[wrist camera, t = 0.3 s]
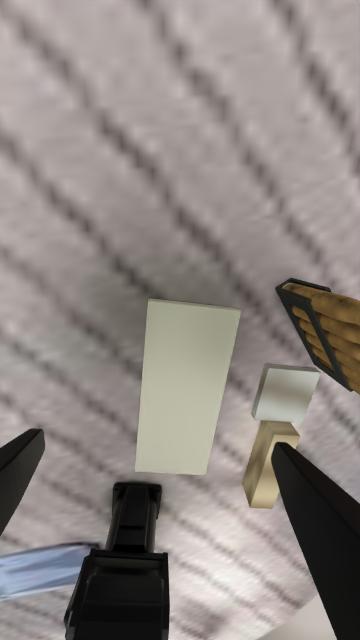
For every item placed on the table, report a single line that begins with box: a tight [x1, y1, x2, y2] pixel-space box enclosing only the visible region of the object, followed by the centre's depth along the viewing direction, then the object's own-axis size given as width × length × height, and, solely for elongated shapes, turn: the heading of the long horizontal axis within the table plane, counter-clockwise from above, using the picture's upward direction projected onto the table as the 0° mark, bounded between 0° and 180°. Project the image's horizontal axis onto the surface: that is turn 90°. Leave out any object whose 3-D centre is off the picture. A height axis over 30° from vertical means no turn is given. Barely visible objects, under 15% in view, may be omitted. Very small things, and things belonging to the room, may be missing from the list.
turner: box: [242, 364, 321, 509], centre depth 25 cm, size 19×6×3 cm, turn 173°
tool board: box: [135, 298, 241, 475], centre depth 23 cm, size 22×9×1 cm, turn 173°
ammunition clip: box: [275, 278, 360, 395], centre depth 16 cm, size 11×2×12 cm, turn 34°
